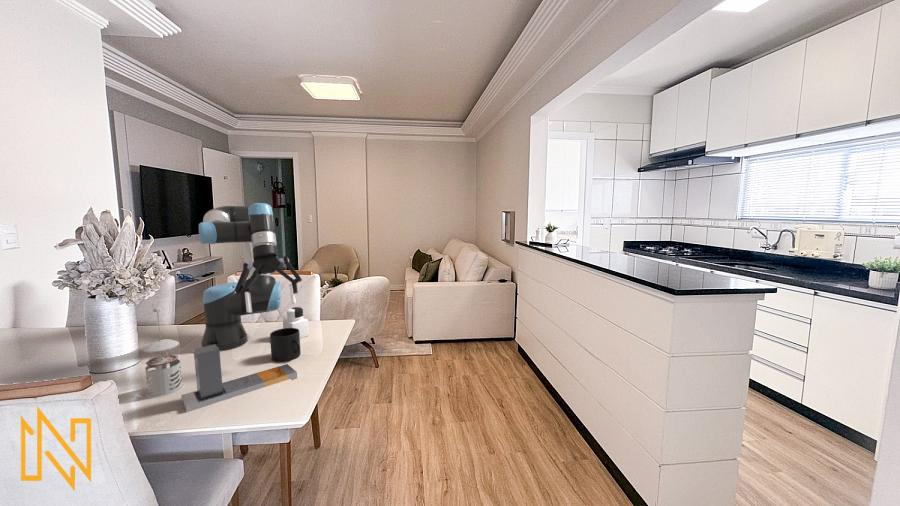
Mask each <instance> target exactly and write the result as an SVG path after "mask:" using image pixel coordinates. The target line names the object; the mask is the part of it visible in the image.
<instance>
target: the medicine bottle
mask: <svg viewBox="0 0 900 506" xmlns="http://www.w3.org/2000/svg"><path fill="white" fill-rule="evenodd" d="M283 328H296V329H299V334H300V339H303V338H306V337H309V336H310V332H309V331H310V330H309V319H307V318H304V309H303V308H302V307H299V306H295V307H290V308H288V309H287V310H286V319H284V320H282V329H283Z"/></svg>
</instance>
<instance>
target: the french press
mask: <svg viewBox="0 0 900 506" xmlns="http://www.w3.org/2000/svg"><path fill="white" fill-rule="evenodd" d="M152 312H153V313H156V315H157V316H156V317H157V326H158V332H159V334H158V335H159V339H158V340H155V341H152V342H150V343H149V344H147V345H145V346H144V347H143V348H142V351H143V352H145V353H148V354H154V353H155V354H157V353H160V354H161V355H160V356H155V357H152V358H150V359H149V360H147V361H146V363H145V364H146V365H147V366H145V368H144V369H145V377H146V387H147V392H146V393H145V397H146V398H148V399H158V398H160V399H161V398H164V397H168V396H172V395H174V394H177V393H179V392H180V391H182V390H183V389H184V388H185V386H186V384H185V383H183V378H182V375H183V374H182V367H181V360H180V359H179V355H177V354H175V351H174V349H175V348H178V346H179V345H180V342H179V341H177V340H175V339H170V338H168V339H167V338H165V339H162V336H161V327H160V317H159V312H162V307H160V306H158V307H157V306H156V307H154V308H153V309H152ZM171 350H172V354H168V351H171ZM163 352H165V355H163ZM168 365H169V367H168ZM150 369H151V370H150Z"/></svg>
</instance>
